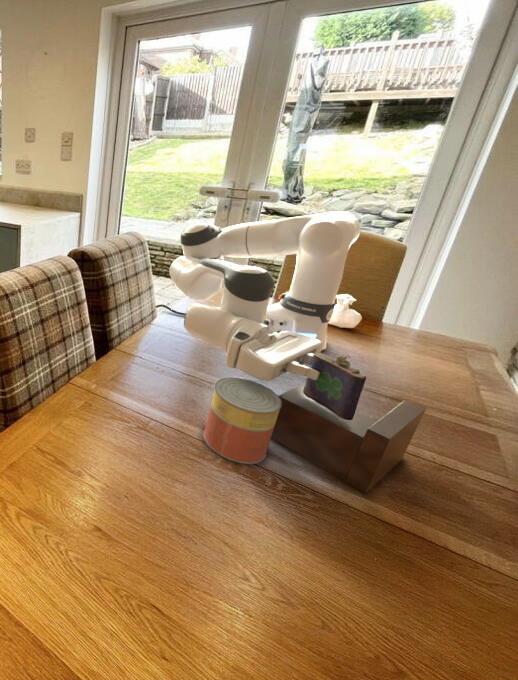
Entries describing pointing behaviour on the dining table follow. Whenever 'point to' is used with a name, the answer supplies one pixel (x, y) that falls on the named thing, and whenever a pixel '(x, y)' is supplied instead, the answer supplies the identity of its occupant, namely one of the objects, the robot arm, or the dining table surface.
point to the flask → (336, 385)
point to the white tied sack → (345, 313)
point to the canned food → (241, 419)
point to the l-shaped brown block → (346, 437)
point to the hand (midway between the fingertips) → (324, 372)
